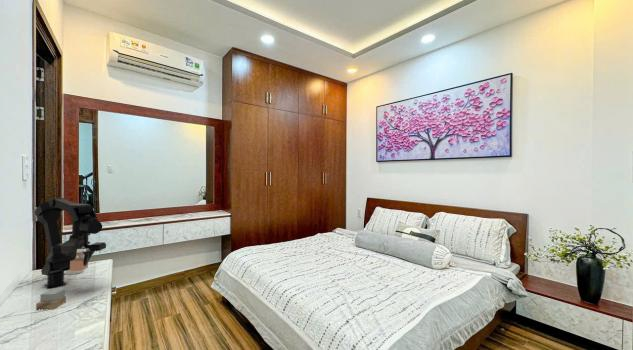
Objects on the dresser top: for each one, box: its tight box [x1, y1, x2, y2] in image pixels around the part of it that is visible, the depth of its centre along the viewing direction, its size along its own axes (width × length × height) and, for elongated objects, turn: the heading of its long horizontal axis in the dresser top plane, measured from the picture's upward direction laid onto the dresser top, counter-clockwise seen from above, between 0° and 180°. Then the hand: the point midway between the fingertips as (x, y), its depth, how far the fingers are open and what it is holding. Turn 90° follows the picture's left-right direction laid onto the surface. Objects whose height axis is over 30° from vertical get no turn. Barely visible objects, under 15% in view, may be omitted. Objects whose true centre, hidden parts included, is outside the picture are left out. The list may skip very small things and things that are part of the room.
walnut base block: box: [35, 295, 67, 311], centre depth 106 cm, size 6×6×3 cm
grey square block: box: [39, 288, 66, 302], centre depth 106 cm, size 5×5×3 cm
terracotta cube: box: [70, 258, 89, 271], centre depth 120 cm, size 4×4×4 cm
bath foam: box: [65, 249, 85, 276], centre depth 142 cm, size 7×7×20 cm
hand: (79, 265), depth 120 cm, fingers closed on terracotta cube, 4 cm apart
